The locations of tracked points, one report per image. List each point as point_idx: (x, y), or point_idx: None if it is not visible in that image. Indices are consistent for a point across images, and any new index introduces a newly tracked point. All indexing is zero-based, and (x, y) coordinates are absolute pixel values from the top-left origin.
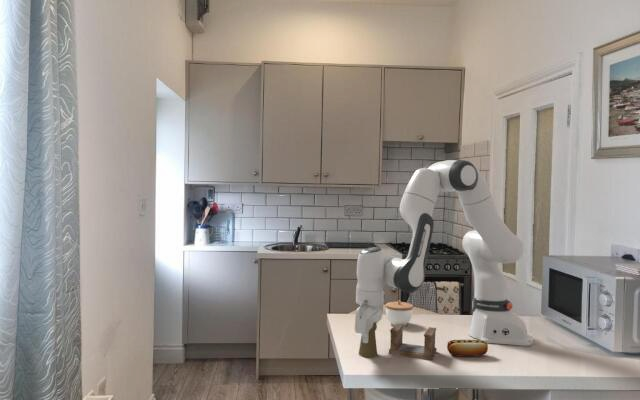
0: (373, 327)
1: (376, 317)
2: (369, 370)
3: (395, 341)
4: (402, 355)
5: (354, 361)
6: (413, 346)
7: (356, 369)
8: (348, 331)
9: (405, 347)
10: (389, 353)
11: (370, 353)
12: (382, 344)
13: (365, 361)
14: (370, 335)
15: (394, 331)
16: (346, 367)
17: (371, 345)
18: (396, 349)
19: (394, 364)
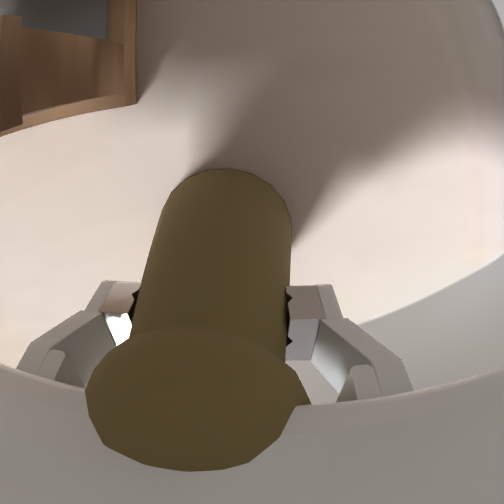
0: (276, 397)
1: (24, 471)
2: (491, 165)
3: (81, 47)
4: (136, 3)
5: (387, 268)
6: (6, 5)
7: (484, 228)
8: (17, 361)
9: (36, 26)
10: (135, 97)
11: (282, 214)
12: (16, 208)
13: (375, 212)
14: (277, 322)
15: (8, 56)
16: (464, 275)
17: (275, 241)
18: (114, 44)
19: (364, 15)
